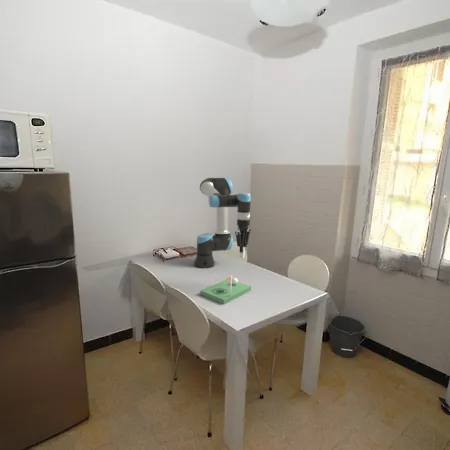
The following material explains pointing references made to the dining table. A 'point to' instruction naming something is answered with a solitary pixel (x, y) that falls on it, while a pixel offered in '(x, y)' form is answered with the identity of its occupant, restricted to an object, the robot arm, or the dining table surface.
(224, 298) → the mini golf green
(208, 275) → the dining table surface
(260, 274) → the dining table surface
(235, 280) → the ball
